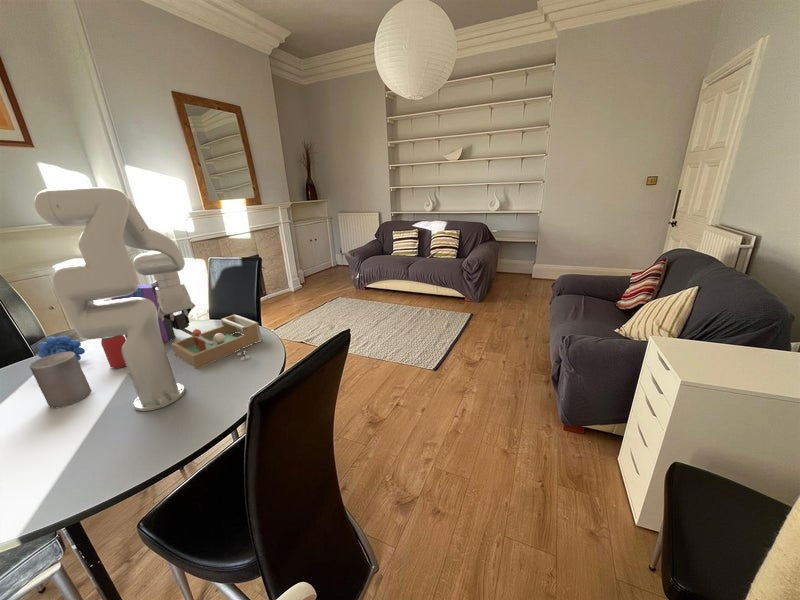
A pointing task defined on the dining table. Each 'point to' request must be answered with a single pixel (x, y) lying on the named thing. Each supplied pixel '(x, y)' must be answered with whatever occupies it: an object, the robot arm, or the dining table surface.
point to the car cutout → (243, 354)
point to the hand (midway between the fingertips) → (181, 326)
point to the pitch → (218, 350)
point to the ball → (219, 338)
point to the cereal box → (150, 294)
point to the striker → (196, 333)
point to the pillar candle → (60, 379)
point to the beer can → (114, 350)
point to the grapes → (60, 346)
